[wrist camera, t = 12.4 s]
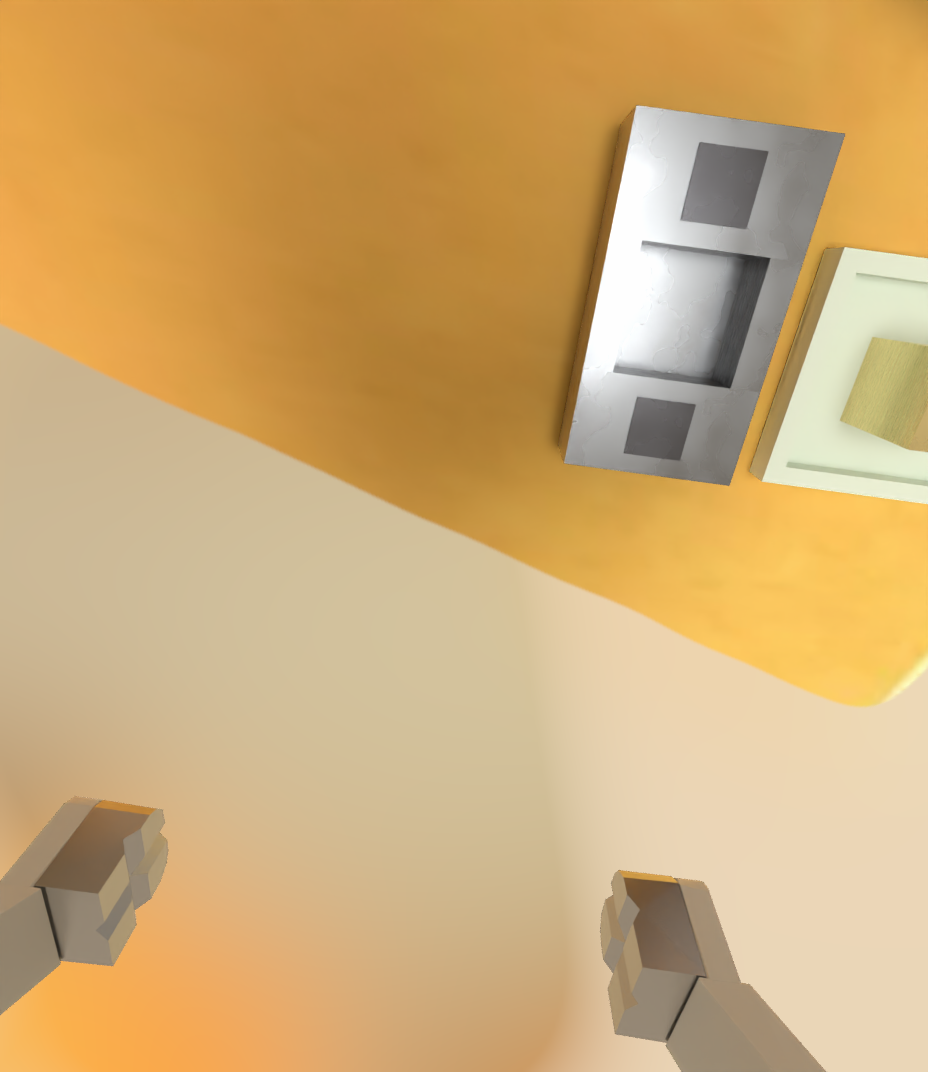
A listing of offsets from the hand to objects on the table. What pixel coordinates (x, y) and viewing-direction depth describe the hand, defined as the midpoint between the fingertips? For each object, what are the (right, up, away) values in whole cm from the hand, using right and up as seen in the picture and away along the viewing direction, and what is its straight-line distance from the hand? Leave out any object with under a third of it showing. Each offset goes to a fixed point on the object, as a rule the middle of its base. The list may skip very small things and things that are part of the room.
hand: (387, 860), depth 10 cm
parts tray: (+25, +14, +22) cm, 36 cm away
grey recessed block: (+12, +18, +21) cm, 30 cm away
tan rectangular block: (+25, +14, +21) cm, 36 cm away
